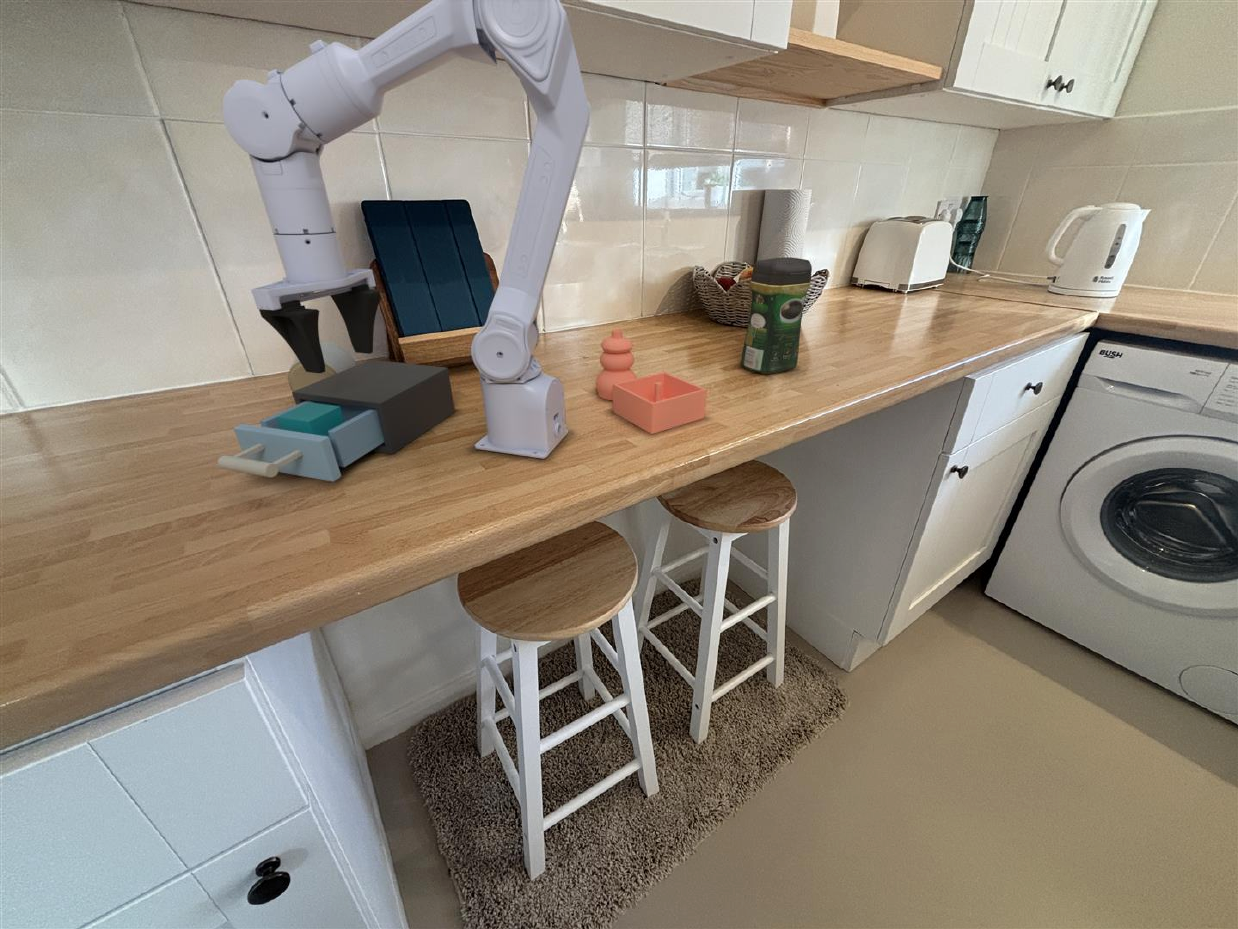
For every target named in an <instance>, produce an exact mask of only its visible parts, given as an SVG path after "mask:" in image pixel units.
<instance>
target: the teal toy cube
mask: <svg viewBox="0 0 1238 929" xmlns="http://www.w3.org/2000/svg"><path fill="white" fill-rule="evenodd" d="M277 420H278V423H279V426H280V428H281V429H282V430H288V431H295V432H301V433H308V434H314V435H321V436H328V437H329V438H330V436H329V433H328V431H330V430H331V429H333V428H335V427H337V426H339V425H341V424H343V423H345V422H344V418H343V415H342V411H341V408H340V406H333V405H325V404H318V403H310V402H308V403H306V404H304V405H302V406H299V407H297V408H295V409H293V410H290V411H288V412H286V413H284V414H282V415H279V416H277ZM330 442H331V439H330ZM331 445H332V442H331ZM332 448H333V446H332ZM333 451H334V449H333Z"/></svg>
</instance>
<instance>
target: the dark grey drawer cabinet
mask: <svg viewBox="0 0 1238 929" xmlns="http://www.w3.org/2000/svg"><path fill="white" fill-rule="evenodd" d="M356 365H357V366H354V367H352V368H349V369H347V370H345V371H342V372H340V373H337V374H335V375H332V376H330V377H328V378H325V379H323V380H320V381H318V382H315V383H313V384H310V385H308V386H306V387H303V388H301V389H298V390H296V391H291V394H292V397H293V399H294V403H295V405H297V404H300V403H302V402H304V401H307V400H312V401H319V402H327V403H335V404H342V405H350V406H357V407H365V408H372V409H376V410H377V414H378V418H379V422H380V426H381V430H382V434H383V438H384V443H382V444H381V445H379V446H378V447H376V448H374V449H373V450H371V451H370V452H375V453H381V454H387V455H394V454H396V453H397V452H399V451H400V450H401V449H403V448H404V447H406V446H407V445H410V443H412V442H413V441H415V440H416V439H418V438H419V437H421V436H423V435H424V434H425V433H426V432H428V431H430V430H431V429H433V428H434V427H436V426H437V425H438V424H440V423H441V422H443V421H444V420H446V419H447V418H449V417H450V416H452V415H454V414H455V413H456V409H455V403H454V396H453V390H452V385H451V379H450V374H449V368H448V367H444V366H436V365H435V366H434V365H426V364H425V365H424V364H416V363H407V362H395V361H389V360H388V361H386V360H379V359H377V360H376V359H369V360H367V361H364V362H361V363H359V364H356Z"/></svg>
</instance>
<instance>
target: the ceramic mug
mask: <svg viewBox="0 0 1238 929" xmlns="http://www.w3.org/2000/svg"><path fill="white" fill-rule="evenodd" d="M320 345H321V349H322V353H323V357H324V362H325V372H323V373H312V372H306V371H305V369H304V367H303V366H302V364H301V363H300V361H299V359H298V358H296V360H294V362H293V363H292V365H291V366H290V368H289V371H288V374H287V375H288V376H287V381H288V386H289V388H290V389H291V392H293V391H296V390H298V389H301V388H303V387H306V386H308V385H310V384H313V383H315V382H318V381H320V380H323V379H325V378H328V377H330V376H332V375H335V374H337V373H340V372H342V371H345V370H347V369H349V368H352V367H354V366H357V365H358V364H357V362H356V360H355V358H354V357H353V356H352V354H351V353H350V351H348V350H346V349H345V348H344V347H342V346H341V345H339V344H337V343H333V342H330V341H320Z"/></svg>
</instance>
